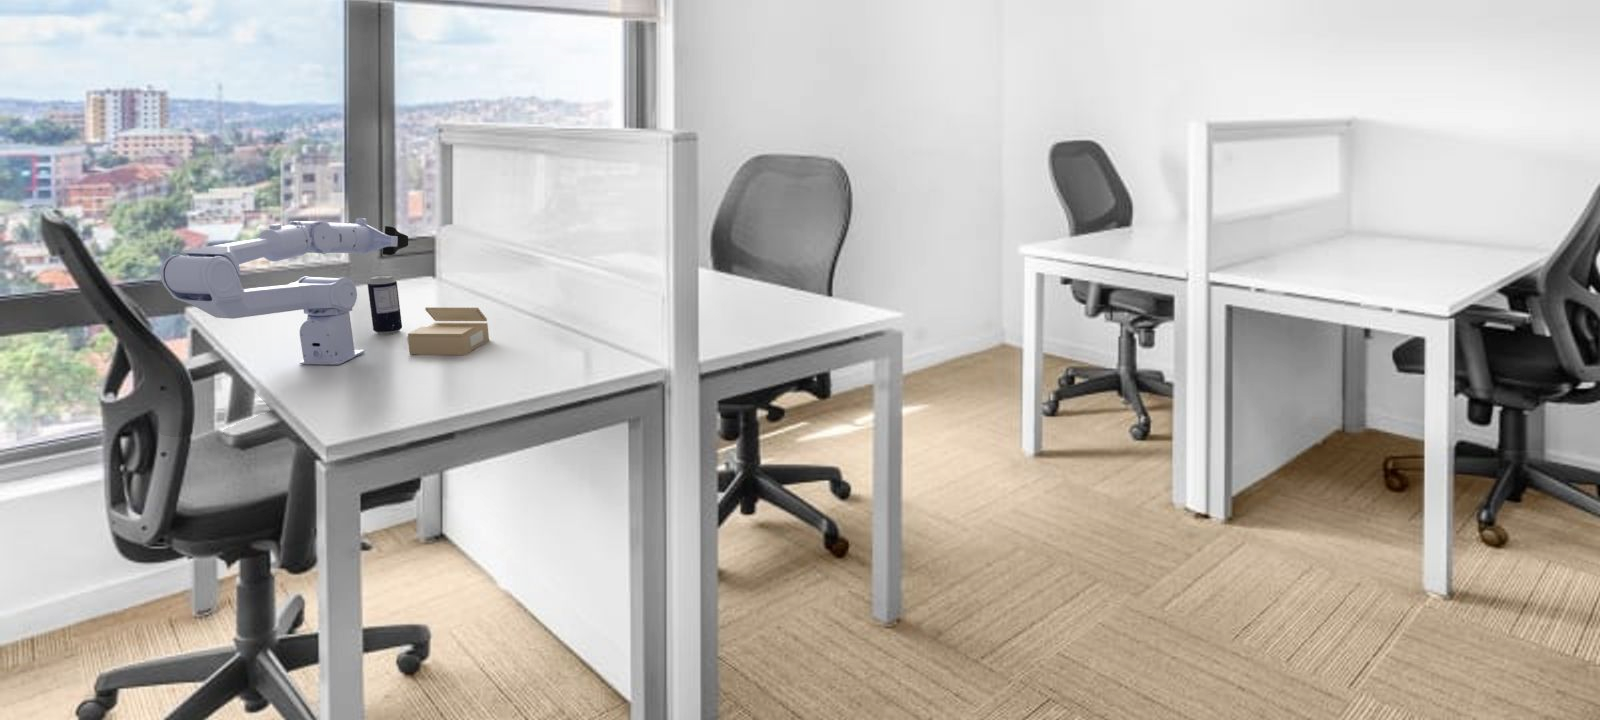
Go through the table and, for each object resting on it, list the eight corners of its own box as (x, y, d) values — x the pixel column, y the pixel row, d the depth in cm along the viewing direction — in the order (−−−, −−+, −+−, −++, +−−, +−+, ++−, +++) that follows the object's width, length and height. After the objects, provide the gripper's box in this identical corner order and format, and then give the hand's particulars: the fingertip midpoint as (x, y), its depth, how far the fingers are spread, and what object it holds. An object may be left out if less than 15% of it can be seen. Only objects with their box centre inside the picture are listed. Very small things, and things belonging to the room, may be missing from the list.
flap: (477, 310, 200) (478, 307, 200) (425, 310, 201) (425, 307, 201) (486, 321, 204) (486, 319, 205) (435, 321, 205) (435, 318, 206)
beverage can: (407, 329, 216) (400, 274, 213) (394, 335, 211) (387, 279, 208) (382, 329, 217) (375, 274, 214) (368, 335, 211) (361, 279, 208)
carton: (465, 354, 194) (463, 333, 193) (409, 354, 195) (407, 333, 194) (489, 340, 206) (487, 320, 204) (437, 339, 207) (434, 319, 206)
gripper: (376, 219, 192) (421, 222, 205) (312, 214, 196) (361, 217, 209) (375, 257, 193) (420, 257, 206) (312, 251, 196) (360, 251, 209)
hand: (390, 239), depth 207 cm, fingers open, 7 cm apart
